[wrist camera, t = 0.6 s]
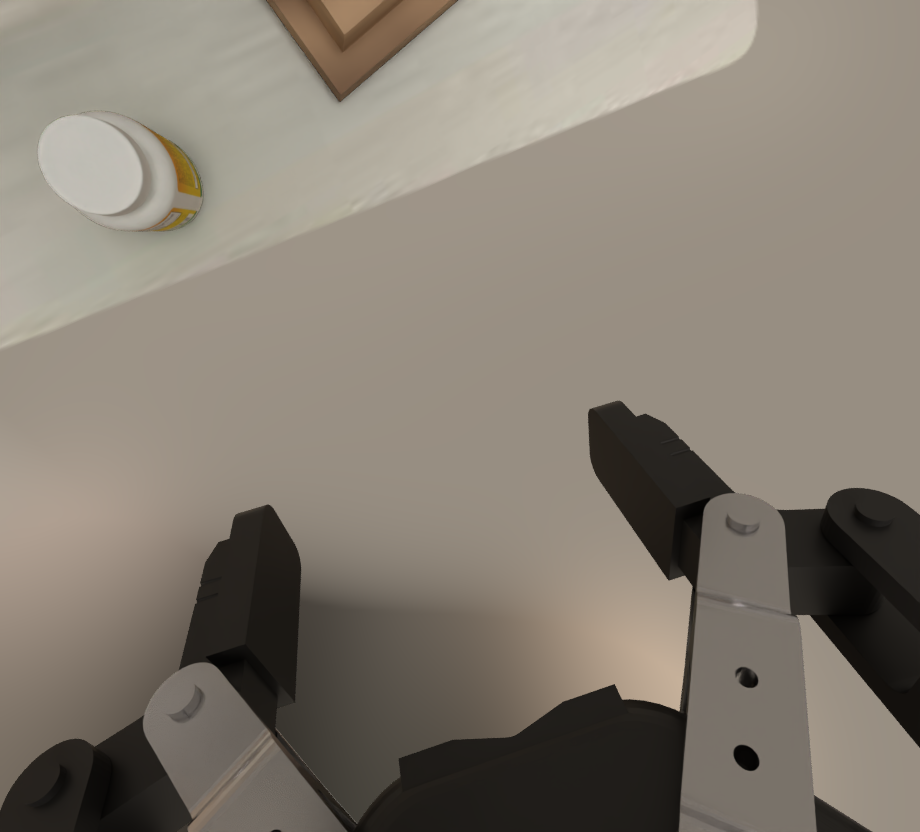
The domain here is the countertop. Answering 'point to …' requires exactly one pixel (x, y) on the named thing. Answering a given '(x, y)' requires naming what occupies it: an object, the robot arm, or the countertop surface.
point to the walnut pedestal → (354, 34)
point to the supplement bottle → (119, 172)
